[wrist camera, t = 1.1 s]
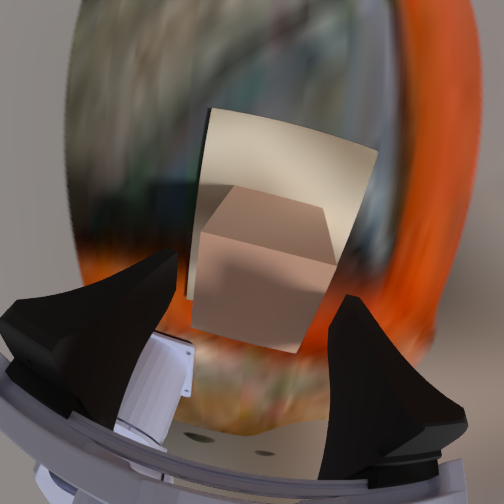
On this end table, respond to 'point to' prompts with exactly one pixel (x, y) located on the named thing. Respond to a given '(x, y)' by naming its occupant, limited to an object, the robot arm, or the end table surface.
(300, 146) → the birch board
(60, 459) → the robot arm
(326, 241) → the salmon cube
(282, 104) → the end table surface
